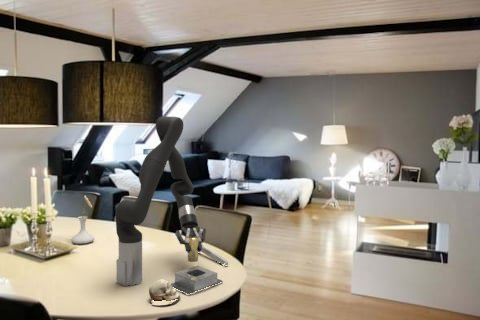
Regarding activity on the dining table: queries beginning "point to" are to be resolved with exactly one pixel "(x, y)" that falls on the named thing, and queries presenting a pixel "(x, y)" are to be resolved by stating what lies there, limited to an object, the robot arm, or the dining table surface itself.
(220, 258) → the wrench
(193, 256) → the brass fitting
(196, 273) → the grey square holder
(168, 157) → the robot arm
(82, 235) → the flower in vase
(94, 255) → the dining table surface
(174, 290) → the skull
